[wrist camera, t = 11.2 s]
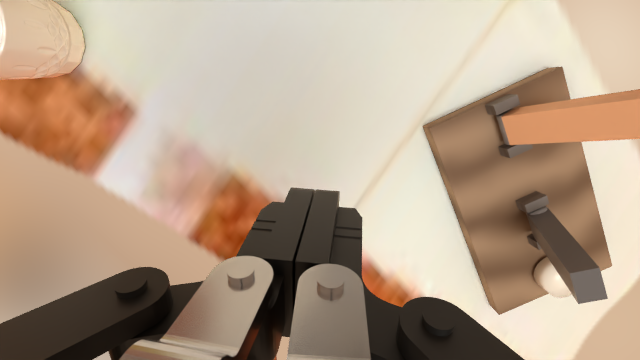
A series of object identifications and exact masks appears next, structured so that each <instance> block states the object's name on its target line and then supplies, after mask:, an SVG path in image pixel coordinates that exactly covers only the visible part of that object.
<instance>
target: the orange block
mask: <svg viewBox="0 0 640 360" xmlns="http://www.w3.org/2000/svg"><path fill="white" fill-rule="evenodd" d="M496 118H497V121H498V124H499V127H500V131H501V134H502V137H503V140H504V143H505V145H523V144H543V143H563V142H583V141H603V140H623V139H640V89H638V90H631V91H625V92H618V93H611V94H605V95H598V96H591V97H585V98H578V99H571V100H565V101H558V102H551V103H545V104H538V105H531V106H525V107H518V108H512V109H509V110H507V111H505V112H503V113H501V114H499V115H496Z"/></svg>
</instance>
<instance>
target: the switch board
mask: <svg viewBox="0 0 640 360" xmlns="http://www.w3.org/2000/svg"><path fill="white" fill-rule="evenodd" d="M565 100H571V99H570V96H569V92H568V88H567V84H566V80H565V76H564V72H563V68H562V67H554V68H547V69H545V70H543V71H540V72H538V73H536V74H534V75H532V76H530V77H528V78H525V79H523V80H521V81H519V82H517V83H515V84H513V85H510V86H508V87H506V88H504V89H502V90H500V91H497V92H495V93H493V94H491V95H489V96H487V97H485V98H482V99H480V100H478V101H476V102H474V103H472V104H470V105H467V106H465V107H463V108H461V109H459V110H457V111H455V112H452V113H450V114H448V115H446V116H444V117H442V118H439V119H437V120H435V121H433V122H431V123H429V124H427V125H424V126H423V128H424V131H425V133H426V136H427V139H428V141H429V144H430V147H431V149H432V152H433V155H434V157H435V160H436V163H437V165H438V168H439V171H440V173H441V176H442V179H443V181H444V184H445V187H446V189H447V192H448V195H449V197H450V200H451V203H452V205H453V208H454V211H455V213H456V216H457V219H458V221H459V224H460V227H461V229H462V232H463V235H464V237H465V240H466V243H467V245H468V248H469V250H470V253H471V256H472V258H473V261H474V264H475V266H476V269H477V272H478V274H479V277H480V280H481V282H482V285H483V288H484V290H485V293H486V296H487V298H488V301H489V304H490V305H491V306H492V308H493V309H494V310H495V311H496V312H497V313H498V314H499V315H500V314H502V313H505V312H507V311H509V310H512V309H514V308H516V307H518V306H521V305H523V304H525V303H528V302H530V301H532V300H535V299H537V298H539V297H542V296H544V295H546V294H549V293H548V292H547V291H546V290H545V289H543V288H542V287H541V286H540V285H538V284H537V283H536V281H535V279H534V270H535V268H536V266H537V264H538V263H539V262H540V261H541V260H543V259H544V258H546V257H547V256H546V254H545V253H544V251H543V250H542V248H541V247H540V245H539V244H538V242H537V241H536V239H535V238H534V236H533V234H532V230H531V227H530V224H529V221H528V218H527V215H526V213H527V214H528V213H530V212H532V211H534V210H537V209H539V208H541V207H543V206H547V207H548V208H549V210H550V211H551V212H552V213H553V214H554V215H555V217H556V218H557V219H558V220H559V221H560V222H561V224H562V225H563V226H564V227H565V228H566V229H567V230H568V232H569V233H570V234H571V235H572V236H573V237H574V239H575V240H576V241H577V242H578V243H579V244H580V246H581V247H582V248H583V249H584V250H585V251H586V252H587V254H588V255H589V256H590V257H591V258H592V259H593V261H594V262H595V263H596V264H597V265H598V266H599V268H600V271H602V270H604V269H606V268H609V267H611V266H612V263H611V259H610V255H609V251H608V247H607V243H606V239H605V235H604V231H603V227H602V223H601V219H600V215H599V211H598V207H597V203H596V199H595V195H594V191H593V187H592V183H591V179H590V175H589V171H588V167H587V163H586V159H585V155H584V151H583V147H582V143H581V142H563V143H543V144H523V145H505V143H504V140H503V137H502V134H501V131H500V127H499V124H498V121H497V118H496V115H499V114H501V113H503V112H505V111H507V110H509V109H512V108H518V107H525V106H531V105H538V104H545V103H551V102H558V101H565Z"/></svg>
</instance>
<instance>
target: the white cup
mask: <svg viewBox="0 0 640 360" xmlns="http://www.w3.org/2000/svg"><path fill="white" fill-rule="evenodd" d="M84 50H85V43H84V38H83V32H82V29H81V27H80V26H79V24H78V23H77V21H76V20H75V18H74V17H73V15H72V14H71V13H70V12H69V11H67V10H66V9H64V8H63V7H62V6H60V5H59V4H57V3H56V2H54V1H52V0H0V80H14V79H33V78H42V77H57V76H61V75H65V74H69V73H71V72H72V71H73V70H74V69H75V68H76V67H77V66H78V65H79V64H80V63H81V60H82V57H83V53H84Z"/></svg>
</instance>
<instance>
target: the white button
mask: <svg viewBox="0 0 640 360" xmlns="http://www.w3.org/2000/svg"><path fill="white" fill-rule="evenodd" d="M534 279H535V281H536V283H537V284H538V285H540V286H541V287H542V288H543V289H545V290H546V291H547V292H548V293H550V294H551V295H552V296H554V297H558V298H562V297H567V296H569V295H571V294H572V293H571V292H570V290H569V289H568V287H567V286H566V284H565V283H564V281H563V280H562V278H561V277H560V275H559V274H558V272H557V271H556V269H555V268H554V266H553V265H552V263H551V262H550V260H549V259H548V257H546V258H544V259H543V260H541V261H540V262H539V263H538V264H537V266H536V268H535V270H534Z"/></svg>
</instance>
